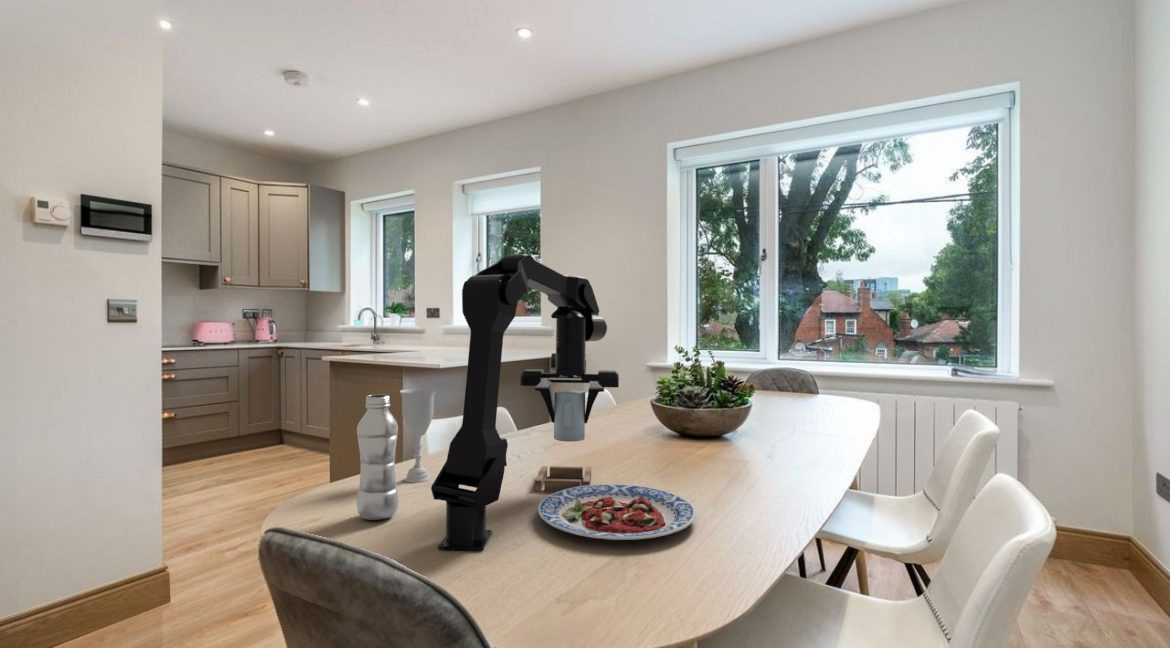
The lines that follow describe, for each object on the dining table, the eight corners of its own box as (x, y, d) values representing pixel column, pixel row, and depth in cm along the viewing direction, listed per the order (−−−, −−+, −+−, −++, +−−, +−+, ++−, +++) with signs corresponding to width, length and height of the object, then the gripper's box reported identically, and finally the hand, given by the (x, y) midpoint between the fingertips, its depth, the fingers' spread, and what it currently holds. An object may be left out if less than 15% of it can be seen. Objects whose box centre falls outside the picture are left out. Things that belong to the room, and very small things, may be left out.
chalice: (392, 482, 112) (392, 392, 112) (412, 473, 118) (412, 388, 118) (424, 485, 110) (424, 393, 109) (442, 476, 116) (443, 389, 116)
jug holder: (589, 492, 106) (589, 481, 106) (534, 490, 107) (534, 480, 107) (591, 476, 117) (591, 467, 117) (541, 475, 117) (541, 466, 117)
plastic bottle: (371, 528, 87) (372, 400, 87) (348, 518, 91) (348, 396, 91) (407, 516, 92) (407, 395, 92) (383, 508, 97) (383, 392, 96)
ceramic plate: (701, 503, 101) (701, 486, 101) (688, 562, 76) (688, 540, 76) (565, 490, 108) (565, 475, 108) (513, 541, 83) (513, 521, 83)
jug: (585, 434, 112) (586, 390, 112) (583, 444, 103) (584, 396, 103) (555, 434, 113) (556, 389, 113) (551, 444, 103) (551, 395, 103)
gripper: (617, 341, 117) (616, 416, 116) (528, 340, 117) (527, 415, 117) (619, 343, 105) (618, 426, 105) (520, 342, 106) (519, 424, 106)
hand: (569, 422), depth 109 cm, fingers closed on jug, 6 cm apart
